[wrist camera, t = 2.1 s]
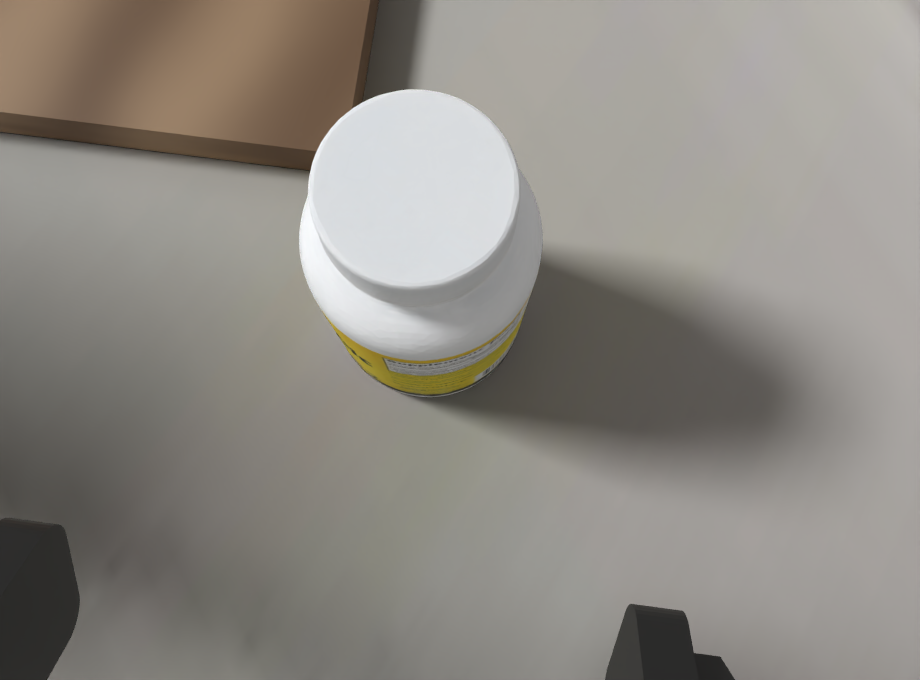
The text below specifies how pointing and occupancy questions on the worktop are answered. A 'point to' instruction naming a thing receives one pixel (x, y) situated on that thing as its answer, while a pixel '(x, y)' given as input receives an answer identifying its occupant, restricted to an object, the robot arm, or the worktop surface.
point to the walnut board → (185, 73)
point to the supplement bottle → (420, 240)
